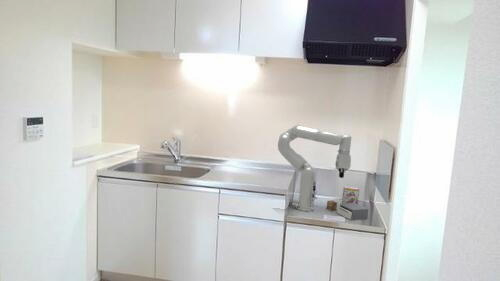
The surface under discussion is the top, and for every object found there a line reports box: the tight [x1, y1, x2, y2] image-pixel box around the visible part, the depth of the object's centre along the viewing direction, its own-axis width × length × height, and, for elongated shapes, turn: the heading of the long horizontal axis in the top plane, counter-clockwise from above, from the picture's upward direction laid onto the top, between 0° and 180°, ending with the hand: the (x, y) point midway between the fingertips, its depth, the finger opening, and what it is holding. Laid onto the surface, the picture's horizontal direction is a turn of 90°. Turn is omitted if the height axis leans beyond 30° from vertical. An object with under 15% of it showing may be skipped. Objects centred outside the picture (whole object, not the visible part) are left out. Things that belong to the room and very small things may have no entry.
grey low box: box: [339, 203, 369, 221], centre depth 230 cm, size 13×14×7 cm
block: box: [326, 199, 338, 212], centre depth 241 cm, size 5×5×6 cm
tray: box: [336, 205, 352, 221], centre depth 229 cm, size 13×14×5 cm
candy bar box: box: [341, 185, 360, 204], centre depth 245 cm, size 11×5×16 cm, turn 77°
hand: (341, 177), depth 234 cm, fingers closed
